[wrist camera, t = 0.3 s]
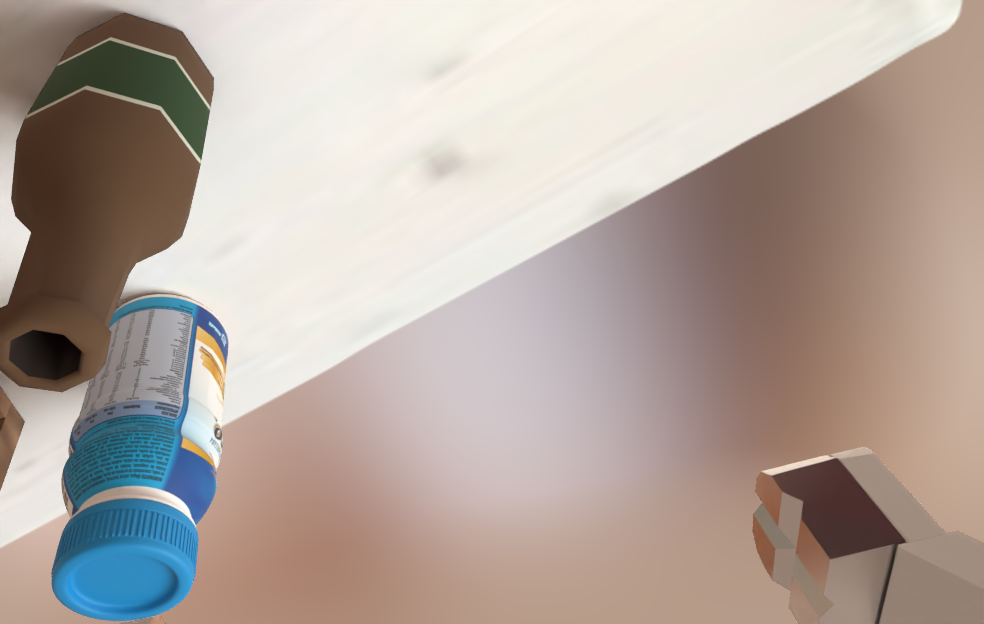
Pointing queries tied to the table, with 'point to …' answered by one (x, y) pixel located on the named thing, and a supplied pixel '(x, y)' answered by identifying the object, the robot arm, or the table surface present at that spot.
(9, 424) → the door track
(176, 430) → the beverage bottle
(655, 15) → the table surface
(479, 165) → the table surface
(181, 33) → the beer bottle
